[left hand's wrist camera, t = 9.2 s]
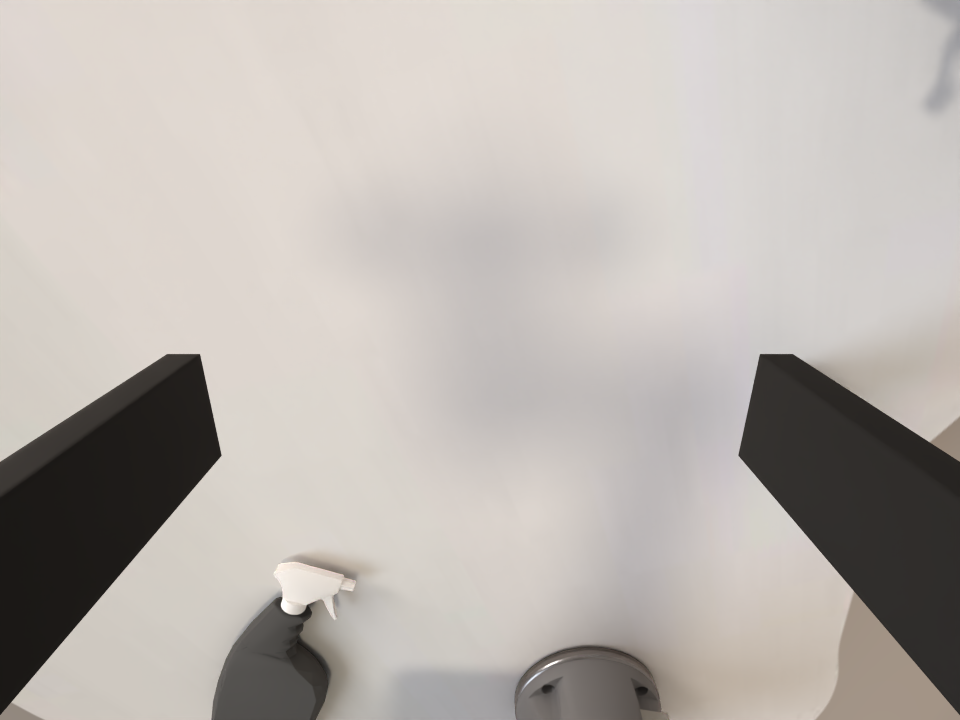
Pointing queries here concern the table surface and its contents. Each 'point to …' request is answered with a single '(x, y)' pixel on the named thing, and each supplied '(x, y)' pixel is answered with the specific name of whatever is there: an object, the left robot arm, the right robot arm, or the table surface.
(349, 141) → the table surface
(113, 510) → the left robot arm
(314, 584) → the spray bottle
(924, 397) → the table surface
